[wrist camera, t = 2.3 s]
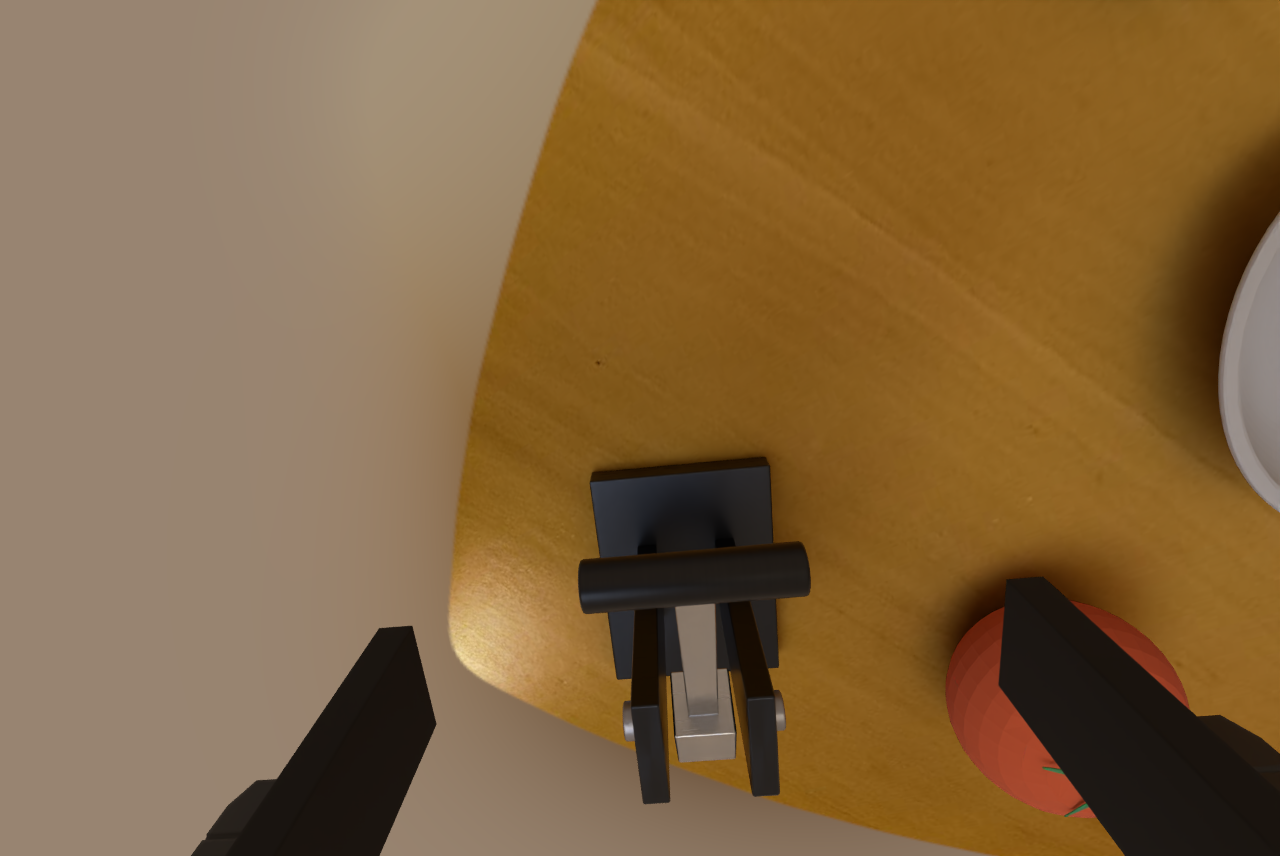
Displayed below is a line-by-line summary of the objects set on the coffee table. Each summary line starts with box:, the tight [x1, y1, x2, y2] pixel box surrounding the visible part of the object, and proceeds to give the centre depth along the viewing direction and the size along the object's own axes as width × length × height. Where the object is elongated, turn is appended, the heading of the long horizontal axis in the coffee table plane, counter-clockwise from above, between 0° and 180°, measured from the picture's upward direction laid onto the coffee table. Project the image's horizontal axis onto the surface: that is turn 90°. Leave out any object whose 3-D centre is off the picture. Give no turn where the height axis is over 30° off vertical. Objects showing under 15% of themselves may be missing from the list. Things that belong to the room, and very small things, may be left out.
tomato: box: [946, 601, 1190, 818], centre depth 31 cm, size 10×10×10 cm
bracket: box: [590, 457, 786, 804], centre depth 29 cm, size 12×9×13 cm
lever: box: [578, 541, 811, 762], centre depth 21 cm, size 12×6×2 cm, turn 6°
